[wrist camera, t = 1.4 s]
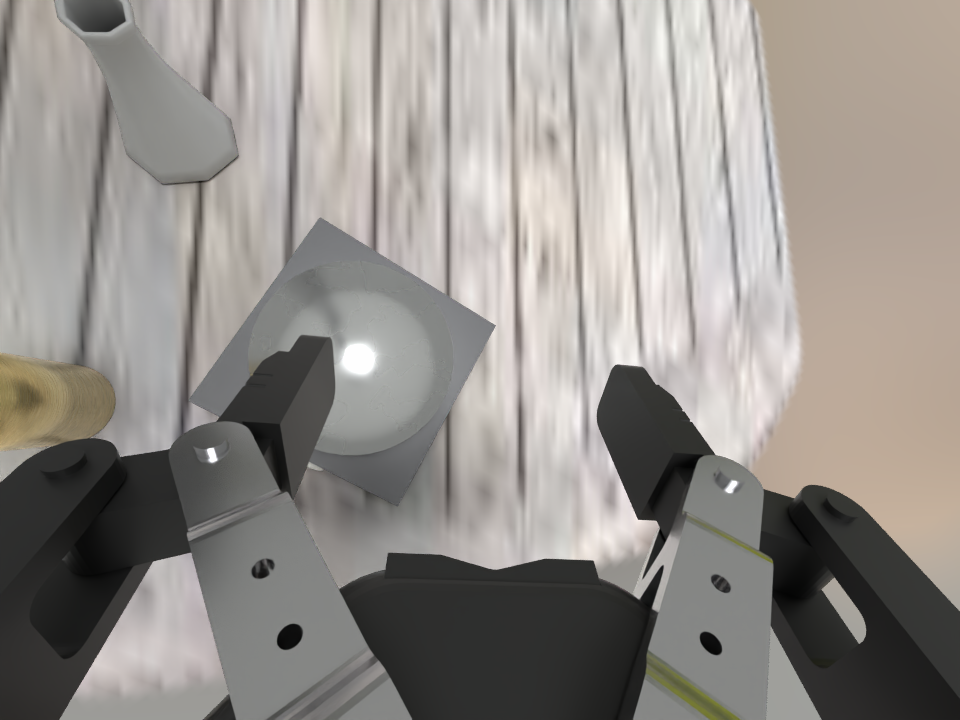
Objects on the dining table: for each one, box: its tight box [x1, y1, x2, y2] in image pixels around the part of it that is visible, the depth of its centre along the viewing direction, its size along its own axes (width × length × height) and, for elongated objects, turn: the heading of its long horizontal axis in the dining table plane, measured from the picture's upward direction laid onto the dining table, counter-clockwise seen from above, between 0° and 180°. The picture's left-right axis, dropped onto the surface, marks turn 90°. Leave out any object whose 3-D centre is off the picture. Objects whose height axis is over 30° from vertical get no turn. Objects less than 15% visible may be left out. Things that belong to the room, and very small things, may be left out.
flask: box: [54, 0, 238, 184], centre depth 25 cm, size 7×7×10 cm
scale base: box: [188, 218, 496, 506], centre depth 29 cm, size 14×14×4 cm
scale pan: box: [248, 261, 454, 455], centre depth 25 cm, size 12×12×1 cm
